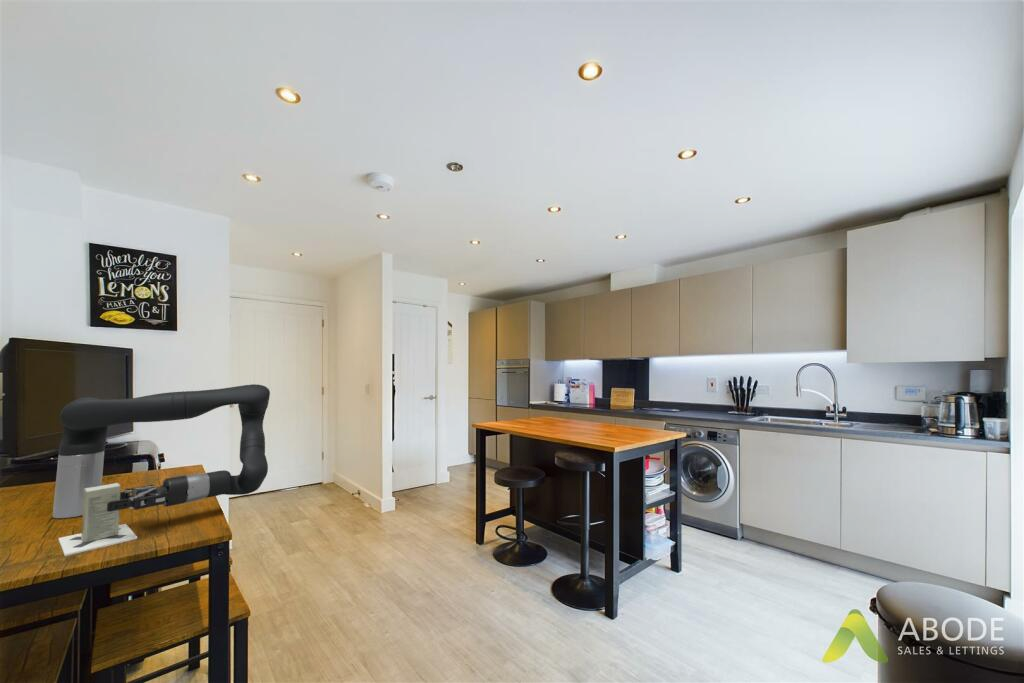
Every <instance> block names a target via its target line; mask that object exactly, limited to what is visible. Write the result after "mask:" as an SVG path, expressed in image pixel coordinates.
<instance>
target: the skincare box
mask: <svg viewBox="0 0 1024 683" xmlns="http://www.w3.org/2000/svg"><path fill="white" fill-rule="evenodd" d="M121 487H122V486H121V484H120V483H119V482H114V483H109V484H102V485H101V486H96V487H90V488H85V489H84V501H83V515H82V520H81V521H82V522H81V532H80V533H81V539H82V542H83V543H85V542H89V541H93V540H98V539H102V538H106V537H110V536H114V535H118V529H119V525H120V510H116V511H111V512H108V511H107V504H108V503H109V502H112V501H117V500H120V492H122V491H121V489H122V488H121Z"/></svg>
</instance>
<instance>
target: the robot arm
mask: <svg viewBox="0 0 1024 683" xmlns="http://www.w3.org/2000/svg"><path fill="white" fill-rule="evenodd" d="M270 396H271V392H270V389H269V387H267V386H265V385H263V384H256V383H255V384H252V383H251V384H246V385H245V384H244V385H238V386H237V385H236V386H232V387H231V386H230V387H223V388H214V389H204V390H189V391H188V390H187V391H170V392H163V393H156V394H155V393H154V394H149V395H145V396H144V395H143V396H137V397H132V398H120V399H119V398H118V399H117V398H116V399H115V398H114V399H112V398H111V399H109V398H108V399H102V398H101V399H99V398H97V397H91V396H90V397H87V396H85V397H82V398H78V399H75V400H73V401H71V402H69V403H67V404H66V405H65V406H64V407H63V409H62V410H61V411H60V414H59V420H60V422H61V423H62V424H63V426H62V434H61V435H62V436H61V440H60V442H59V446H58V456H57V457H58V458H57V468H56V469H57V470H56V476H55V478H56V479H55V485H54V486H55V488H54V498H53V508H52V519H53V518H54V519H69V518H75V517H80V516H83V501H84V489H85V488H90V487H96V486H102V485H103V484H102V483H103V472H104V460H105V449H106V444H107V443H106V442H107V436H108V426H114V425H121V424H129V423H155V422H170V421H171V422H173V421H181V420H188V419H193V418H197V417H200V416H203V415H205V414H206V413H209V412H211V411H213V410H216V409H217V408H221V407H224V406H225V407H226V406H231V405H232V406H233V405H237V407H238V411H239V417H240V421H241V434H240V442H239V461H240V462H241V464H242V467H241V471H240V473H239V474H236V475H232V474H231V472H230V471H229V470H225V469H224V470H222V469H221V470H217V471H210V472H200V473H191V474H186V475H185V474H184V475H180V476H179V475H178V476H172V477H166V478H165V479H164V480H163V481H162V485H161V486H156V487H155V485H154V484H147V485H143V486H135V487H129V488H125V489H123V490H122V491H120V500H117V501H112V502H109V503H108V504H107V511H108V512H111V511H116V510H125V509H129V510H130V509H131V510H134V511H135V510H136V511H138V510H141V509H146V508H151V507H157V506H160V505H162V506H163V507H166V508H167V507H174V506H177V505H182V504H187V503H191V502H197V501H200V500H204V499H208V498H212V497H218V496H221V495H227V496H229V495H233V496H236V495H237V496H239V495H240V496H241V495H248V494H253V492H256V491H257V490H259V489H260V487H261V486H262V484H263V482H264V480H265V479H266V477H267V476H268V469H269V465H268V464H269V463H268V460H267V456H266V438H265V431H264V419H265V416H266V411H267V409H268V407H269V401H270Z"/></svg>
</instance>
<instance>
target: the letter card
mask: <svg viewBox="0 0 1024 683" xmlns="http://www.w3.org/2000/svg"><path fill="white" fill-rule="evenodd" d="M81 533H82V532H80V533H76V534H71V535H66V536H61V537H58V543H59V545H60V548H61V551H62V552H63V555H64V557H68V556H72V555H76V554H77V555H78V554H80V553H85V552H89V551H93V550H97V549H102V548H105V547H109V546H114V545H118V544H122V543H126V542H130V541H133V540H137V539H138V536H137V535H136V533H135V532H134V531H133V530H132V529H131V528H130V527H129V525H127V523H123V524H119V529H118V535H114V536H110V537H106V538H102V539H98V540H93V541H89V542H85V543H83V542H82V539H81Z"/></svg>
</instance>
